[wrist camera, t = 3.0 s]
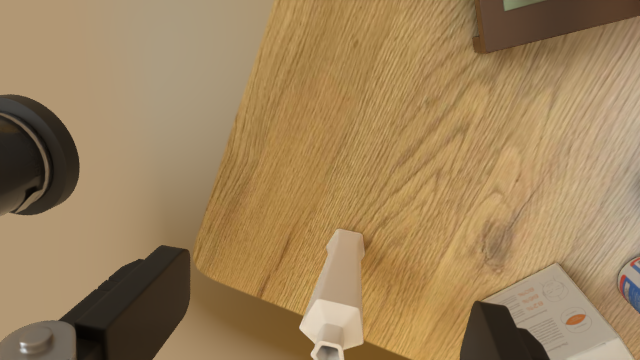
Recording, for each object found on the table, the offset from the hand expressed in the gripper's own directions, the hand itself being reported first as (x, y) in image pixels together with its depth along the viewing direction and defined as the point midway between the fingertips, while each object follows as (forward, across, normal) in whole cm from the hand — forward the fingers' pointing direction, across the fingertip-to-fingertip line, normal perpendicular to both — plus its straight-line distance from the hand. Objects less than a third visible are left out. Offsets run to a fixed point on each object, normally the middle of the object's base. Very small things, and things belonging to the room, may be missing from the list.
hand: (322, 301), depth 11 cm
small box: (+26, -18, +15) cm, 35 cm away
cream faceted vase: (+26, 0, +12) cm, 29 cm away
